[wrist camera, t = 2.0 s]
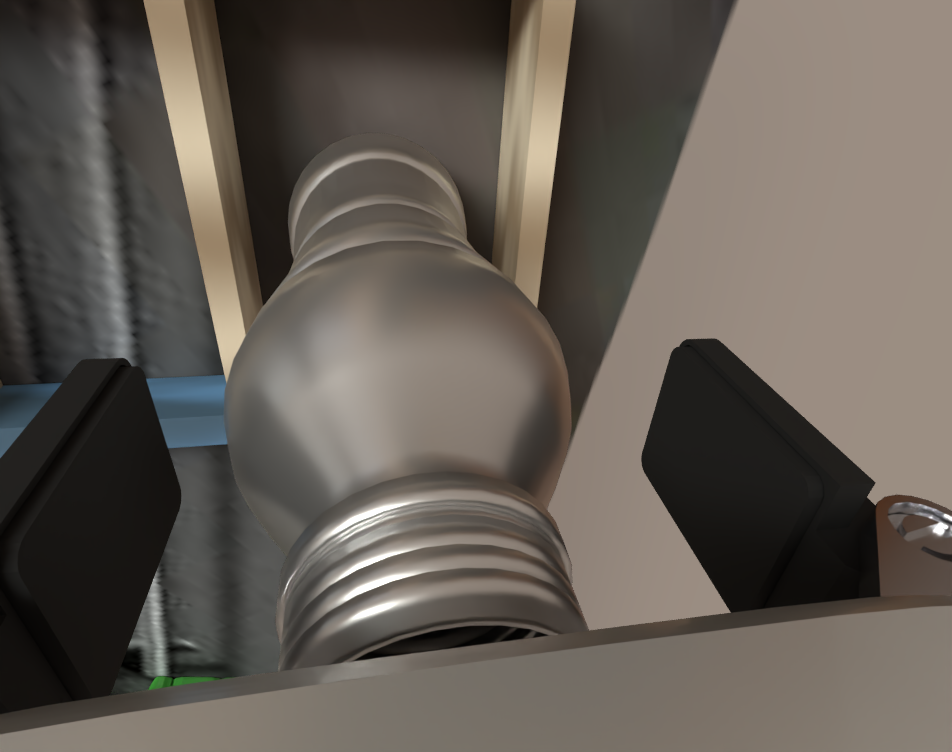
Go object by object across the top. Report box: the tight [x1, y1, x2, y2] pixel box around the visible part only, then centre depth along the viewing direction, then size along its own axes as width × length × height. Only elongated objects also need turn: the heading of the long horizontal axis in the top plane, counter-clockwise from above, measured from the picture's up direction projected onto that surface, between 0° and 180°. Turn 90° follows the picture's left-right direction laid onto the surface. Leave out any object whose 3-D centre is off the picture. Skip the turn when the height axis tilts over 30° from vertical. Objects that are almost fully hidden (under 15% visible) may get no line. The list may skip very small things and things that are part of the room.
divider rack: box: [0, 0, 576, 458], centre depth 20 cm, size 18×23×4 cm
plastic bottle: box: [224, 133, 589, 672], centre depth 14 cm, size 6×7×20 cm
